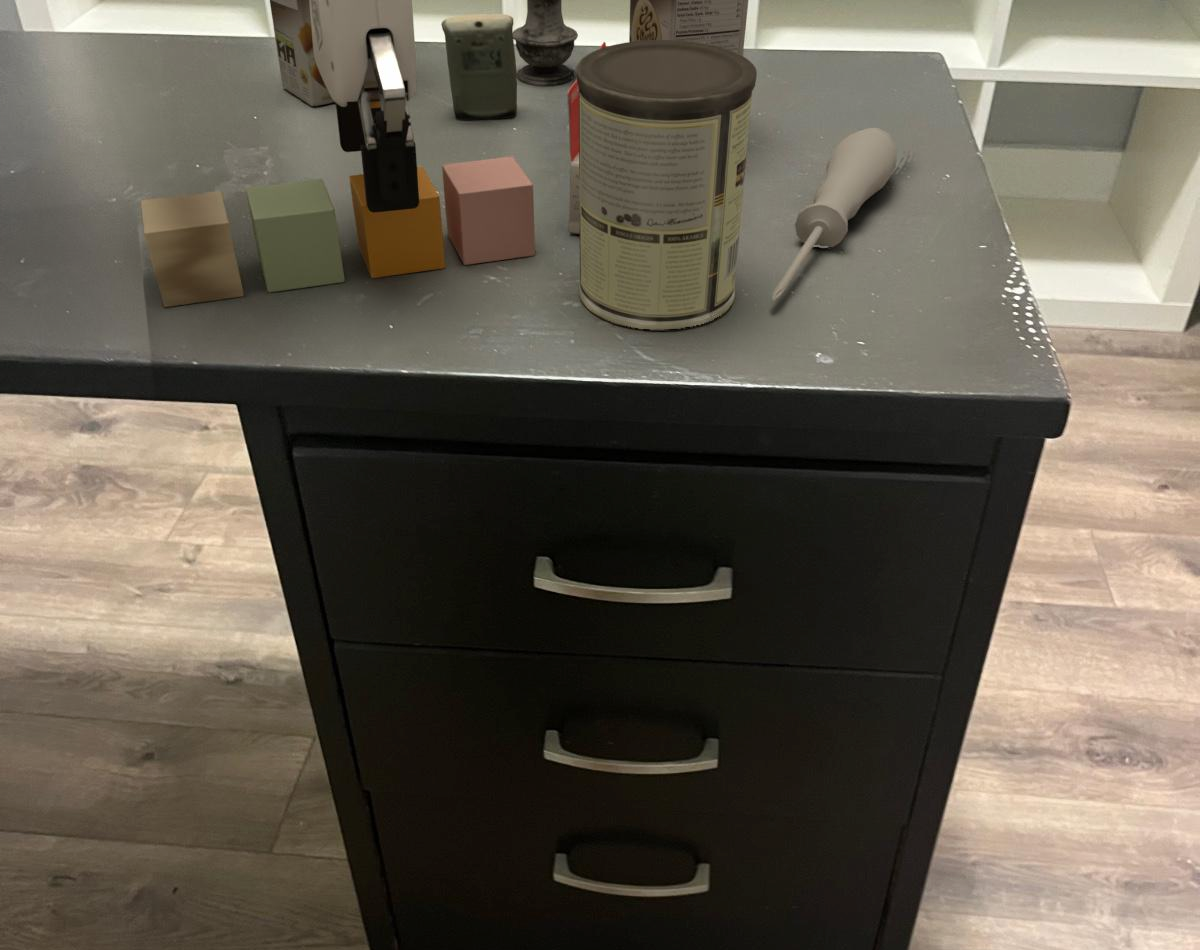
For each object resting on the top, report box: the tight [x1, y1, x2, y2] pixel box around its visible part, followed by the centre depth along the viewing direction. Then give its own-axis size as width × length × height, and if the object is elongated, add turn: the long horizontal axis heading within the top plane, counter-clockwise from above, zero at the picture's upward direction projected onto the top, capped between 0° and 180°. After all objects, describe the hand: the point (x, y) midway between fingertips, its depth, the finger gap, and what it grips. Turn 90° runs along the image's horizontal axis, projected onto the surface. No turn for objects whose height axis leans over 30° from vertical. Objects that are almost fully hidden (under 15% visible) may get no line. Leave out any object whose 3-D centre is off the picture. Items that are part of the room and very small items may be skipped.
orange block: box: [348, 166, 446, 279], centre depth 78 cm, size 5×5×5 cm
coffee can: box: [575, 40, 758, 331], centre depth 72 cm, size 10×10×14 cm
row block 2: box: [245, 178, 346, 293], centre depth 77 cm, size 5×5×5 cm
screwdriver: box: [770, 127, 897, 301], centre depth 82 cm, size 5×25×4 cm, turn 155°
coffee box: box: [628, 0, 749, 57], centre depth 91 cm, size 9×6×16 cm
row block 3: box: [441, 156, 536, 266], centre depth 80 cm, size 5×5×5 cm
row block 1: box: [140, 190, 245, 308], centre depth 75 cm, size 5×5×5 cm
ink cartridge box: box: [566, 41, 607, 235], centre depth 83 cm, size 2×11×10 cm, turn 167°
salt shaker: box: [512, 0, 579, 87], centre depth 103 cm, size 6×6×12 cm
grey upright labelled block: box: [440, 13, 518, 121], centre depth 97 cm, size 6×5×8 cm
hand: (378, 177), depth 76 cm, fingers open, 9 cm apart
